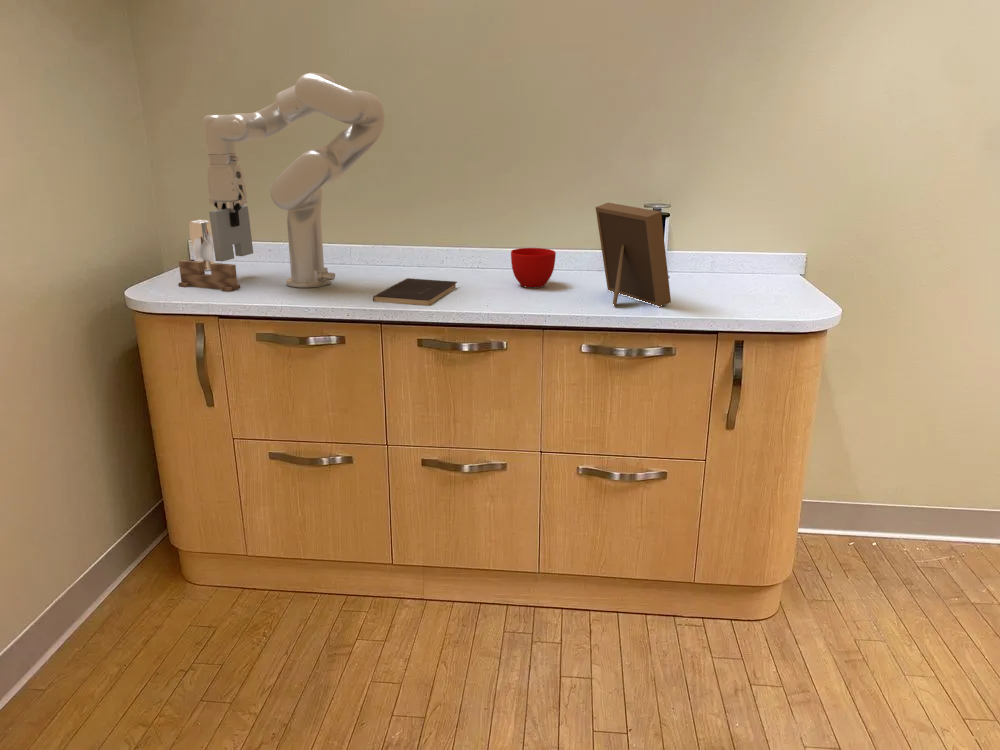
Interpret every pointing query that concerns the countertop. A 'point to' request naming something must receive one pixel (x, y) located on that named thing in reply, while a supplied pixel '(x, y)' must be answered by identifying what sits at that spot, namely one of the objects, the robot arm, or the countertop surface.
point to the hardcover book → (415, 291)
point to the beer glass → (202, 241)
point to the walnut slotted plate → (208, 275)
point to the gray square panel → (230, 234)
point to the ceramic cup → (533, 265)
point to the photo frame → (634, 253)
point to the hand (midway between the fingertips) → (231, 225)
